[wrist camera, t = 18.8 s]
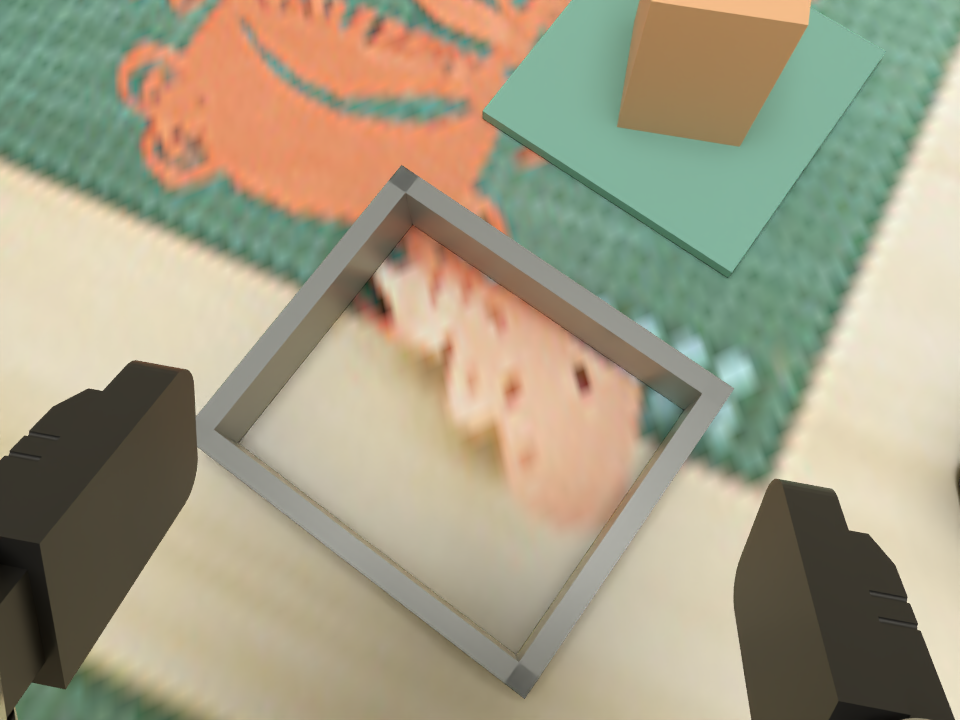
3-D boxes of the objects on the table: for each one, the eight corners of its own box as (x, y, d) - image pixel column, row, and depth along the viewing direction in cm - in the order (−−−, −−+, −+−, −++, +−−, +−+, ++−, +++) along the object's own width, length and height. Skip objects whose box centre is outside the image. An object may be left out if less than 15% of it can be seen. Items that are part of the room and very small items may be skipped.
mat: (482, 118, 37) (482, 110, 36) (642, -80, 39) (644, -90, 39) (727, 277, 35) (732, 272, 34) (880, 59, 37) (886, 51, 37)
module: (616, 127, 36) (651, 1, 28) (634, 21, 37) (671, -127, 29) (739, 146, 36) (807, 25, 28) (753, 39, 37) (822, -106, 29)
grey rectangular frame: (208, 447, 34) (181, 434, 31) (408, 199, 36) (401, 164, 33) (521, 688, 31) (524, 698, 28) (713, 405, 34) (733, 388, 31)
